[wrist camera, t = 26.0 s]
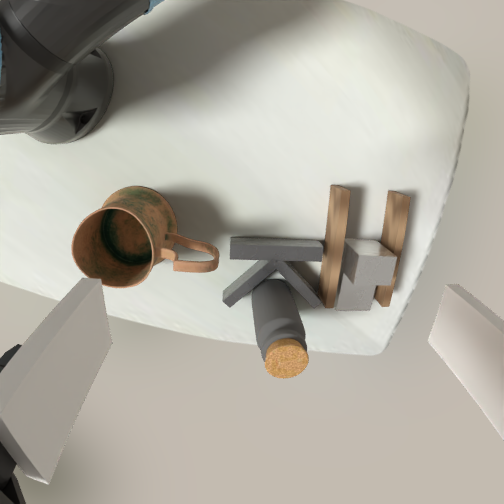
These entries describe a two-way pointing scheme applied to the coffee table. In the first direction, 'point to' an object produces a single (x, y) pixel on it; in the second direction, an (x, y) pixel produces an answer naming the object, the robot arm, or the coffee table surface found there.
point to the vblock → (272, 264)
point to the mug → (133, 239)
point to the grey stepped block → (362, 273)
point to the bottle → (279, 329)
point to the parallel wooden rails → (336, 237)
